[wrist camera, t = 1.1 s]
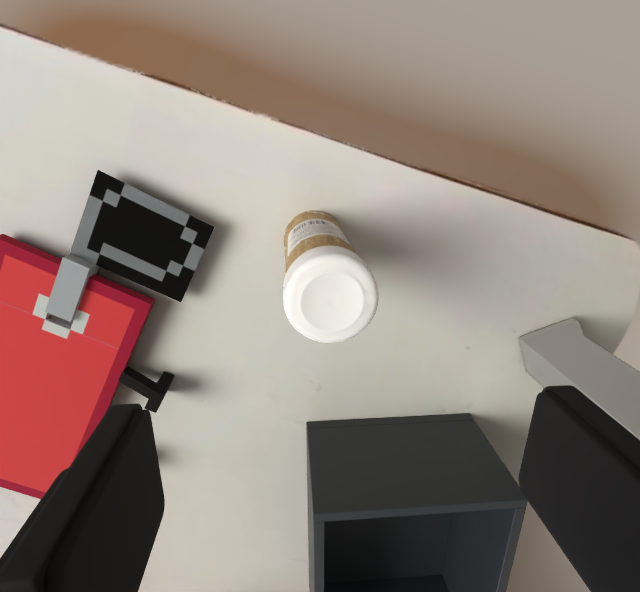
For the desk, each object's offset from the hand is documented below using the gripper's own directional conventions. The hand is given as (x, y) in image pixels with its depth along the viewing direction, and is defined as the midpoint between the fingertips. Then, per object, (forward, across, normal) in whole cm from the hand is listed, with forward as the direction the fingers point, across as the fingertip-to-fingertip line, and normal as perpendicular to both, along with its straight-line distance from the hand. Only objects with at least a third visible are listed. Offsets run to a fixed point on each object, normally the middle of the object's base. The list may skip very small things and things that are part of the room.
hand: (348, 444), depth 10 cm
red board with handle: (+23, +18, +9) cm, 31 cm away
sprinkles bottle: (+23, -1, 0) cm, 23 cm away
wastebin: (+23, -8, +28) cm, 37 cm away
